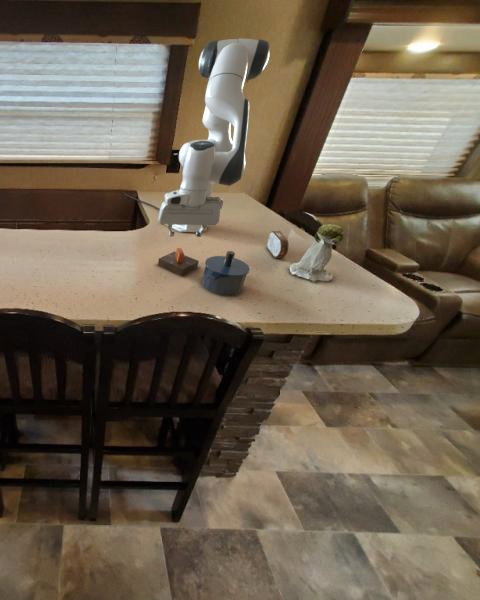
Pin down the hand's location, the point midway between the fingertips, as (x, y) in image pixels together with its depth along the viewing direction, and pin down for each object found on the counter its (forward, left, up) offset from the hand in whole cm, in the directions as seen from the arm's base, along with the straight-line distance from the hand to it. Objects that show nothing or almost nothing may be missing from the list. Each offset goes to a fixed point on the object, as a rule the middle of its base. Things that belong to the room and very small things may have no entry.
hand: (184, 236), depth 106 cm
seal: (0, 0, -10) cm, 10 cm away
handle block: (0, 0, -13) cm, 13 cm away
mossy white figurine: (+34, +32, -13) cm, 48 cm away
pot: (+18, 0, -13) cm, 22 cm away
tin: (+18, +40, -13) cm, 46 cm away
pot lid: (+18, 0, -5) cm, 18 cm away
